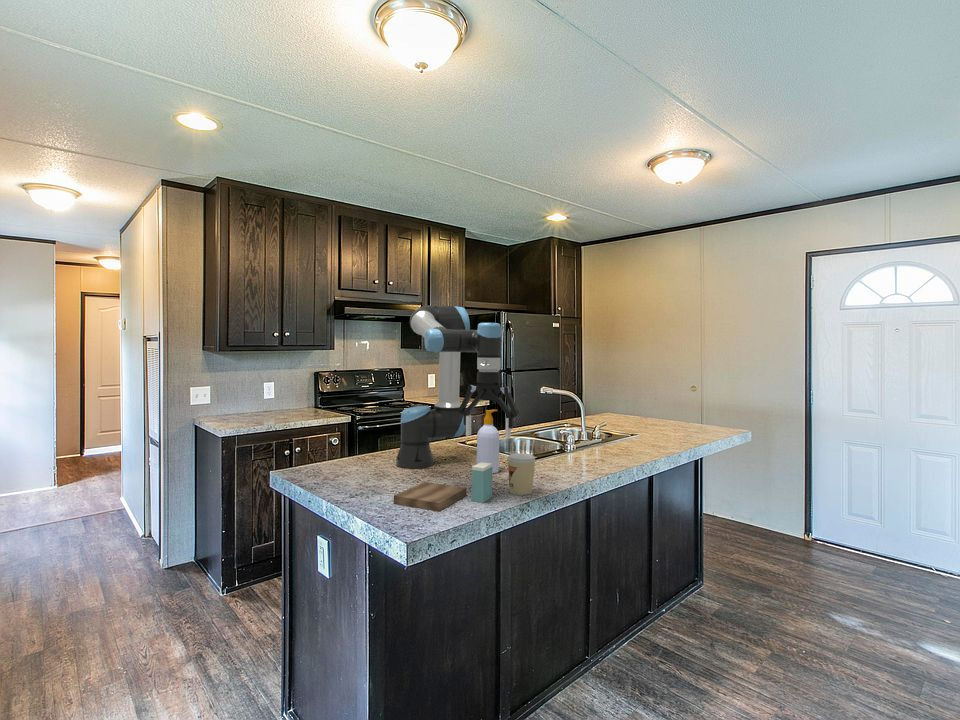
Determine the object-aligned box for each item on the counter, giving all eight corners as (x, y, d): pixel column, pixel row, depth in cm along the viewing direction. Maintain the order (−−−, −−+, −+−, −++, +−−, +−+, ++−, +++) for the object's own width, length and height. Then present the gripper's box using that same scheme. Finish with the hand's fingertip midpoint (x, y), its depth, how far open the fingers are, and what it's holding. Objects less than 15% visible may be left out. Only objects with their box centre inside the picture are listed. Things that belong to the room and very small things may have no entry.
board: (393, 503, 159) (393, 495, 159) (424, 489, 175) (424, 481, 175) (438, 511, 152) (439, 503, 152) (466, 495, 168) (466, 488, 168)
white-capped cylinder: (505, 487, 178) (505, 453, 178) (531, 487, 179) (532, 453, 179) (508, 495, 169) (509, 459, 169) (537, 495, 170) (537, 459, 170)
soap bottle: (504, 471, 202) (505, 410, 201) (488, 475, 195) (489, 412, 194) (488, 467, 208) (489, 408, 207) (471, 471, 201) (472, 410, 200)
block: (471, 501, 163) (471, 466, 162) (480, 495, 169) (481, 462, 169) (482, 503, 161) (483, 468, 161) (491, 497, 167) (492, 463, 167)
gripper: (448, 370, 167) (447, 435, 168) (522, 372, 158) (521, 441, 158) (458, 369, 174) (457, 432, 175) (529, 371, 165) (528, 437, 165)
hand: (487, 436), depth 167 cm, fingers open, 13 cm apart
